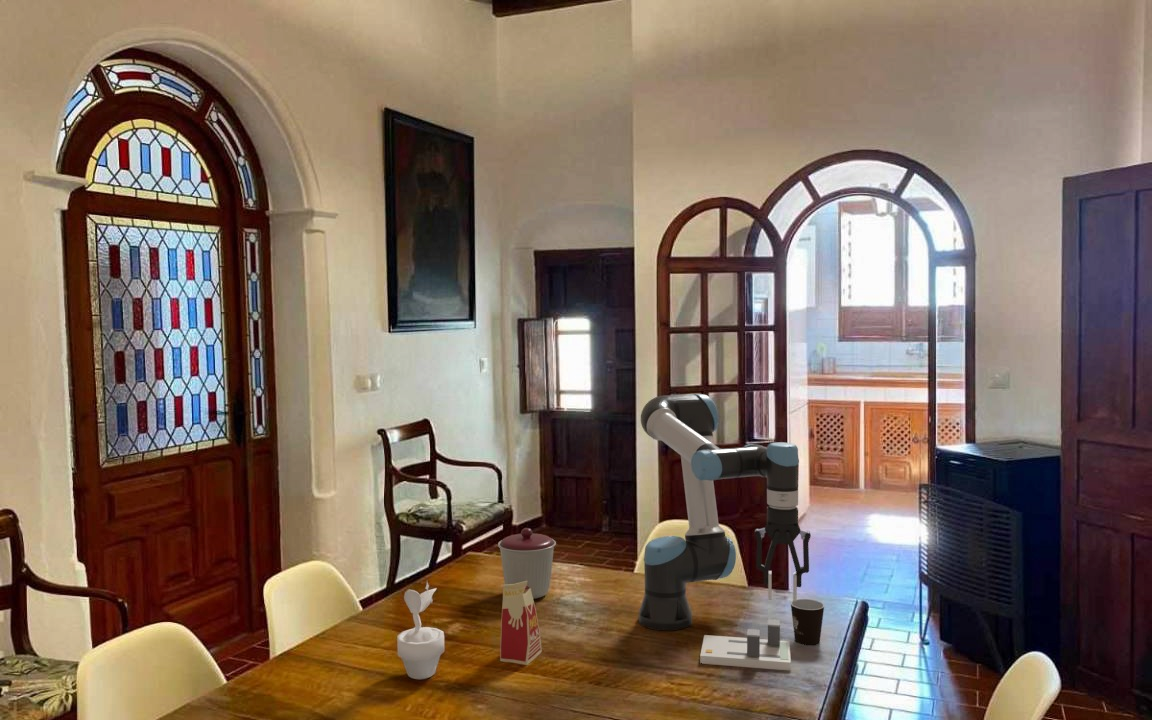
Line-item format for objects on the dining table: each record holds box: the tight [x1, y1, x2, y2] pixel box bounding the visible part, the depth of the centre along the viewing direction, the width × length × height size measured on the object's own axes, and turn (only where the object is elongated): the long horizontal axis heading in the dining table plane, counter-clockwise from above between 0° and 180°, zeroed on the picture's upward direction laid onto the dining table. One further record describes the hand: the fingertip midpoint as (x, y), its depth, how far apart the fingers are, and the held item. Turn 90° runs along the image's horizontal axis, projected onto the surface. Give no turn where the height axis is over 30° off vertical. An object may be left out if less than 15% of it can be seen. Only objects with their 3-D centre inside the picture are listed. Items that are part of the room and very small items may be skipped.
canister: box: [497, 527, 557, 600], centre depth 268 cm, size 18×18×21 cm
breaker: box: [767, 618, 781, 646], centre depth 221 cm, size 3×4×5 cm
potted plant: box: [396, 581, 445, 680], centre depth 209 cm, size 13×12×25 cm
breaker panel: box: [699, 634, 792, 671], centre depth 219 cm, size 22×14×2 cm, turn 77°
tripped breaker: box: [746, 628, 761, 657], centre depth 214 cm, size 3×4×5 cm
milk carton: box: [499, 581, 543, 666], centre depth 220 cm, size 9×9×20 cm
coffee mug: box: [790, 598, 825, 647], centre depth 229 cm, size 12×9×10 cm
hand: (782, 598), depth 212 cm, fingers open, 5 cm apart
